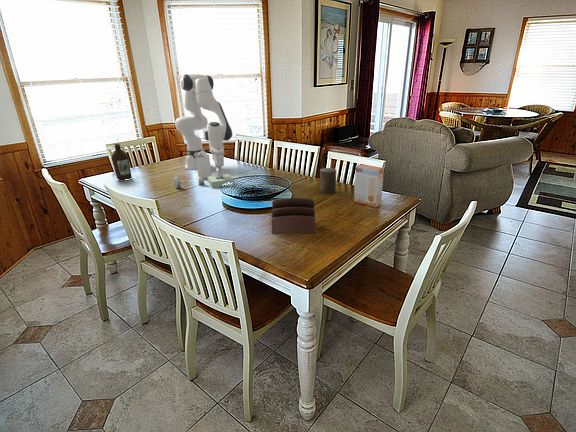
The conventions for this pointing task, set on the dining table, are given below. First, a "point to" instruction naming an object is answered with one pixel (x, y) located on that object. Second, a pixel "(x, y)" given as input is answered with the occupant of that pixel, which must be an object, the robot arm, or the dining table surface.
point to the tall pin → (219, 174)
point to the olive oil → (121, 163)
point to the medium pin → (177, 182)
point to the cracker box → (368, 185)
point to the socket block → (219, 180)
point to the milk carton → (203, 164)
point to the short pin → (201, 181)
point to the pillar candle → (327, 180)
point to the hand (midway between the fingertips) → (218, 169)
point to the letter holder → (293, 216)
